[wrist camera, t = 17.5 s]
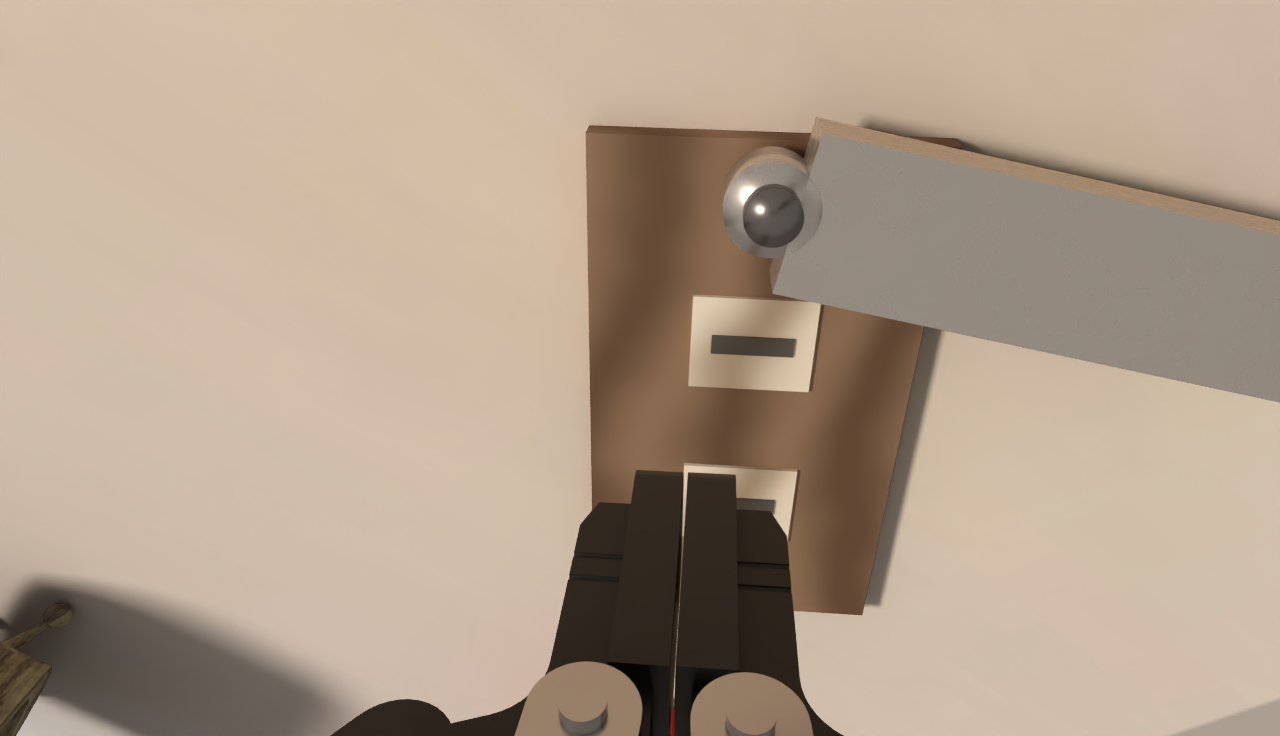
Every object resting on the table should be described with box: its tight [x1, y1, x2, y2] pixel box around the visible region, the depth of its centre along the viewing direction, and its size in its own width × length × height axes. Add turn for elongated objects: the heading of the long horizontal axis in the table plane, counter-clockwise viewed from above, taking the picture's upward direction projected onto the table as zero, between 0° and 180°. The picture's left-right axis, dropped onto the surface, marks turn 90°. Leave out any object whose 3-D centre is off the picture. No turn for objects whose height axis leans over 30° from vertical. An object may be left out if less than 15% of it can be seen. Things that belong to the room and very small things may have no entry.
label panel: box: [586, 126, 962, 615], centre depth 44 cm, size 16×28×2 cm, turn 179°
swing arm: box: [722, 117, 1280, 402], centre depth 35 cm, size 7×26×3 cm, turn 79°
